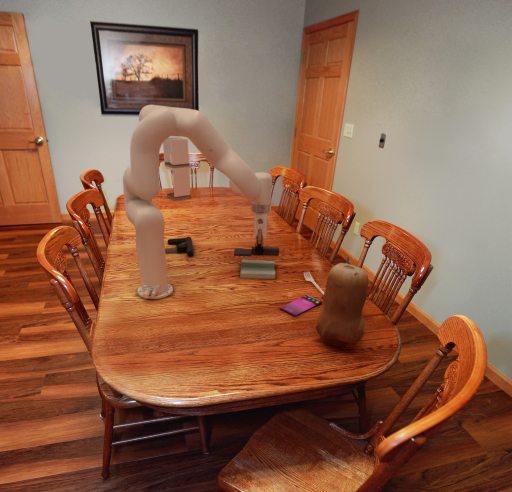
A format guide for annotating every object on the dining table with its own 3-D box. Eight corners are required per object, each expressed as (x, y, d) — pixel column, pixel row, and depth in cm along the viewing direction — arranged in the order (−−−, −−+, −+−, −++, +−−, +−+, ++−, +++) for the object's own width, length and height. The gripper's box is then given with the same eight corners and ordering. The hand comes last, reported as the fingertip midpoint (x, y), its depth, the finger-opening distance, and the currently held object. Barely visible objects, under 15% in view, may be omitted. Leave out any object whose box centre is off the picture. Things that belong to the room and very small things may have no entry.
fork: (321, 298, 147) (322, 293, 146) (302, 276, 163) (302, 271, 162) (329, 297, 148) (330, 292, 147) (309, 275, 164) (310, 271, 163)
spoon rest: (275, 279, 160) (275, 274, 158) (240, 278, 159) (240, 272, 158) (274, 265, 171) (274, 260, 170) (241, 264, 171) (241, 259, 170)
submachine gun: (158, 253, 172) (195, 250, 174) (159, 238, 189) (193, 235, 191) (159, 260, 174) (196, 257, 176) (160, 244, 191) (194, 241, 193)
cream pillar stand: (182, 194, 269) (178, 137, 250) (190, 198, 262) (187, 139, 243) (167, 196, 263) (162, 137, 244) (175, 200, 256) (171, 139, 237)
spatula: (278, 252, 164) (278, 246, 162) (278, 257, 159) (279, 250, 158) (234, 250, 164) (234, 244, 162) (233, 256, 159) (233, 249, 157)
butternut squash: (354, 332, 128) (369, 258, 114) (365, 356, 117) (383, 277, 103) (311, 331, 127) (321, 257, 114) (318, 355, 116) (330, 276, 102)
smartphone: (322, 303, 143) (322, 301, 143) (294, 316, 134) (295, 314, 134) (306, 296, 148) (307, 294, 147) (279, 308, 139) (279, 306, 138)
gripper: (271, 214, 145) (268, 261, 155) (270, 202, 158) (267, 247, 168) (250, 213, 144) (249, 261, 154) (251, 201, 158) (250, 246, 168)
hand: (258, 253), depth 161 cm, fingers closed on spatula, 2 cm apart
